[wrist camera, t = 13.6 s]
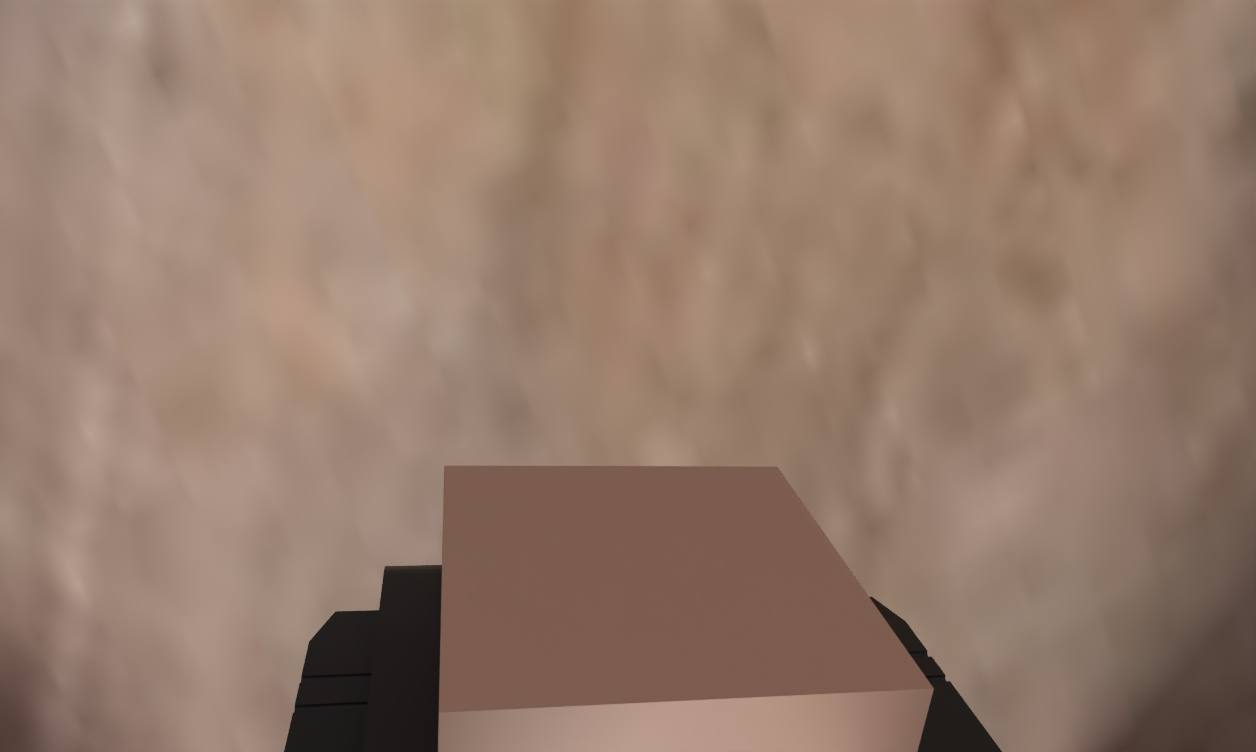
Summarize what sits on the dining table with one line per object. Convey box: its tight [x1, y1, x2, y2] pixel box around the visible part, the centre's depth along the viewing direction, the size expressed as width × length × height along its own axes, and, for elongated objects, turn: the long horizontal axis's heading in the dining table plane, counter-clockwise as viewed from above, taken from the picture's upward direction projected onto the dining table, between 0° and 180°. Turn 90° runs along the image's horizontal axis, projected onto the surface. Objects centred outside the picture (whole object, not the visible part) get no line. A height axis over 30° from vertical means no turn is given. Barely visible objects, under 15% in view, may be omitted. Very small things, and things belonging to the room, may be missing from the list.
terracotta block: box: [438, 466, 934, 752], centre depth 10 cm, size 4×4×4 cm
